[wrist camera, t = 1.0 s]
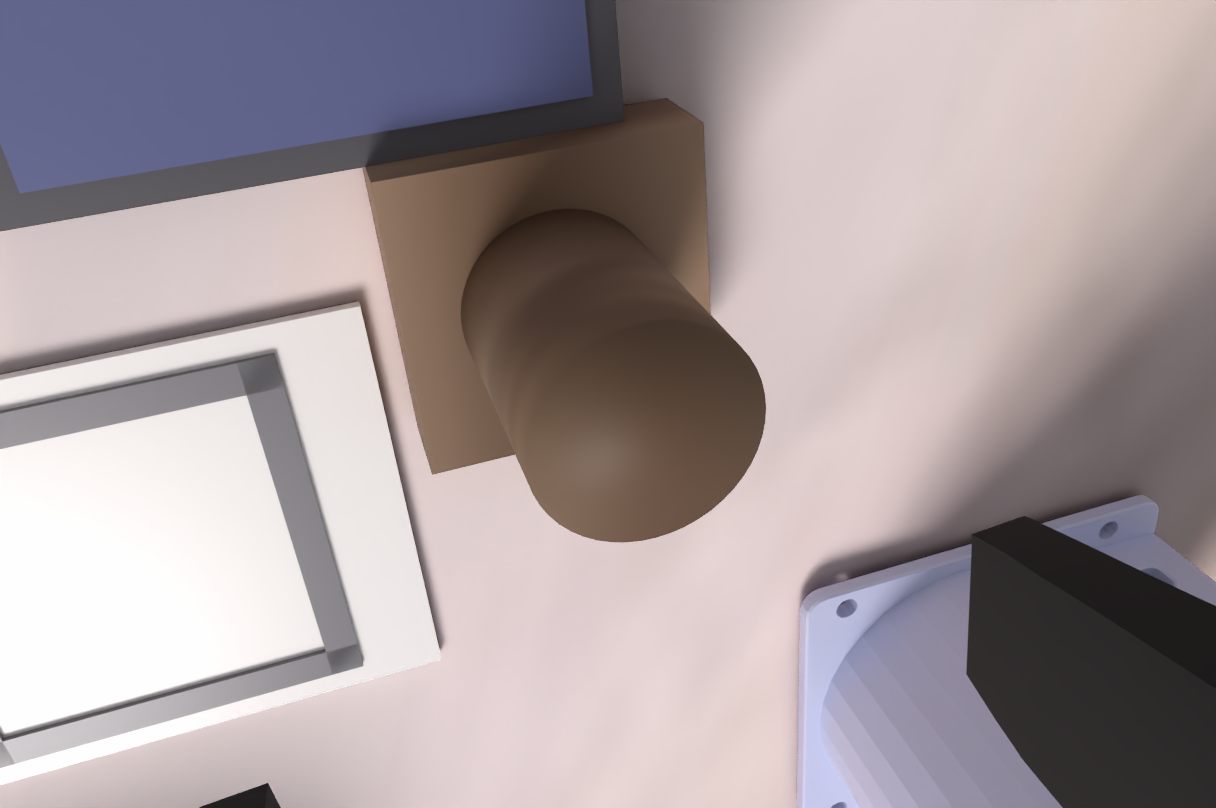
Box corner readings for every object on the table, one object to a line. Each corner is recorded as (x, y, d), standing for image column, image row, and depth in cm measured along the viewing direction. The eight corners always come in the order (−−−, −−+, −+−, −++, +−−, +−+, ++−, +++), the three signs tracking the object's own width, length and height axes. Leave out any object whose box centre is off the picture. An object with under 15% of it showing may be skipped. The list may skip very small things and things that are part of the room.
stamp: (660, 94, 17) (834, 210, 12) (675, 358, 20) (825, 542, 15) (356, 146, 16) (414, 296, 11) (414, 418, 19) (482, 638, 14)
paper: (358, 301, 17) (361, 308, 17) (440, 653, 21) (442, 663, 21) (-334, 442, 15) (-344, 453, 15) (-95, 803, 19) (-99, 816, 19)
